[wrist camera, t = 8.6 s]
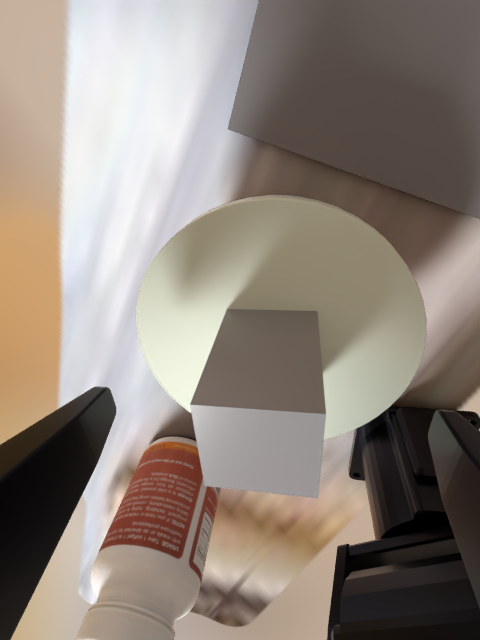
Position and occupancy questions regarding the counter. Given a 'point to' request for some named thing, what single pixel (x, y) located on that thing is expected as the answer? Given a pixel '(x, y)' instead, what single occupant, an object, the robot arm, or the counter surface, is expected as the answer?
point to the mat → (370, 91)
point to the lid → (279, 335)
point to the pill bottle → (153, 547)
